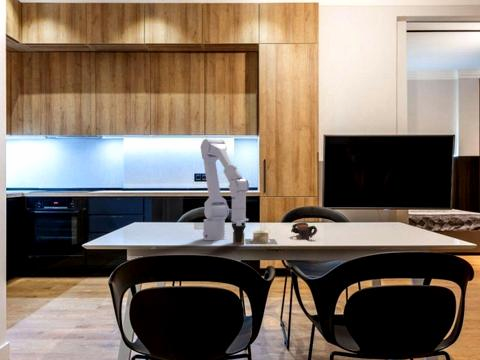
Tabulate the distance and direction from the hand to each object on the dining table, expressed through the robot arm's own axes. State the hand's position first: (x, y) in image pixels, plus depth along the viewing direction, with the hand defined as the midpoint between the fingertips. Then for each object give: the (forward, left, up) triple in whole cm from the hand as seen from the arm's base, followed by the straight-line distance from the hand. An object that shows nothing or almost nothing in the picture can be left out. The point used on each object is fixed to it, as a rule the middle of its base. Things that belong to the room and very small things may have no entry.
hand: (238, 241), depth 170 cm
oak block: (+9, +6, -1) cm, 11 cm away
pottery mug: (+30, +16, -2) cm, 34 cm away
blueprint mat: (+9, +5, -1) cm, 11 cm away
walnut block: (0, 0, -1) cm, 1 cm away
